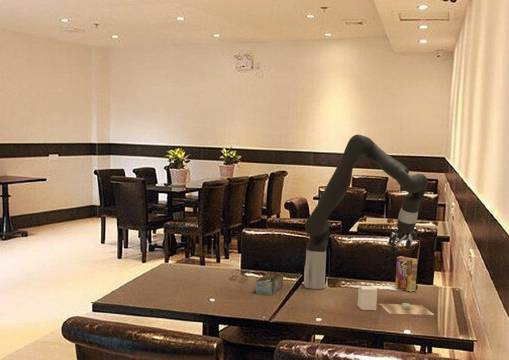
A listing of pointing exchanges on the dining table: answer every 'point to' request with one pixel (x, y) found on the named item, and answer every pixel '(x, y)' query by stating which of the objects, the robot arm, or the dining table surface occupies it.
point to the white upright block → (367, 297)
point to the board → (413, 310)
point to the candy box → (406, 273)
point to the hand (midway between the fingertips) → (400, 251)
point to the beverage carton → (269, 283)
